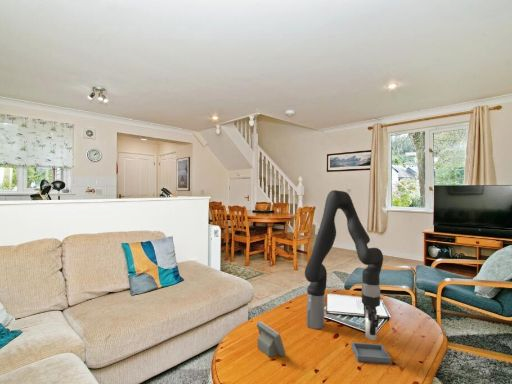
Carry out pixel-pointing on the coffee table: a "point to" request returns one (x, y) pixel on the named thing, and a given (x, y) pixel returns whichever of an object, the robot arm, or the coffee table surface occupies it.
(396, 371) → the coffee table surface
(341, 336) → the coffee table surface
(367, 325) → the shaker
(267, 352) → the digital clock
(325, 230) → the robot arm
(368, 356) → the tray
